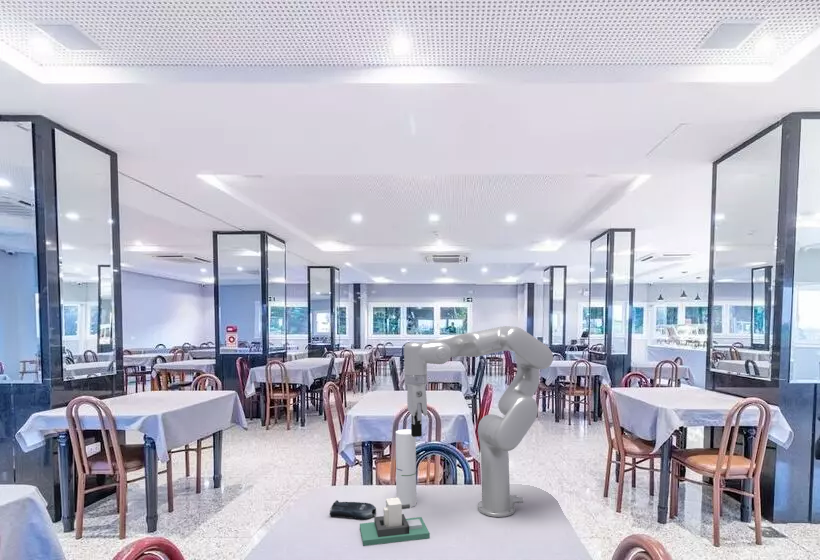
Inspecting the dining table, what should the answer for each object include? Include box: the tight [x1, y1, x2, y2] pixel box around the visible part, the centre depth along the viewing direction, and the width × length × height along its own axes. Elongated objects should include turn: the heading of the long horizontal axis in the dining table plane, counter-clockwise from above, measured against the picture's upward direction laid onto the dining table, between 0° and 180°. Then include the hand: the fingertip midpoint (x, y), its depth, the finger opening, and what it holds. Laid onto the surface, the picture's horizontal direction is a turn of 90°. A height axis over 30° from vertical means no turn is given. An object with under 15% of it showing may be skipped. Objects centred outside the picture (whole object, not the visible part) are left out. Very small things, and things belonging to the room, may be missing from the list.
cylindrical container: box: [395, 428, 417, 508], centre depth 161 cm, size 7×7×25 cm
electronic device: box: [329, 499, 377, 520], centre depth 153 cm, size 9×6×15 cm
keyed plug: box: [383, 497, 411, 527], centre depth 140 cm, size 8×5×8 cm, turn 103°
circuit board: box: [359, 513, 431, 547], centre depth 139 cm, size 20×11×4 cm, turn 102°
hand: (416, 435), depth 149 cm, fingers closed
